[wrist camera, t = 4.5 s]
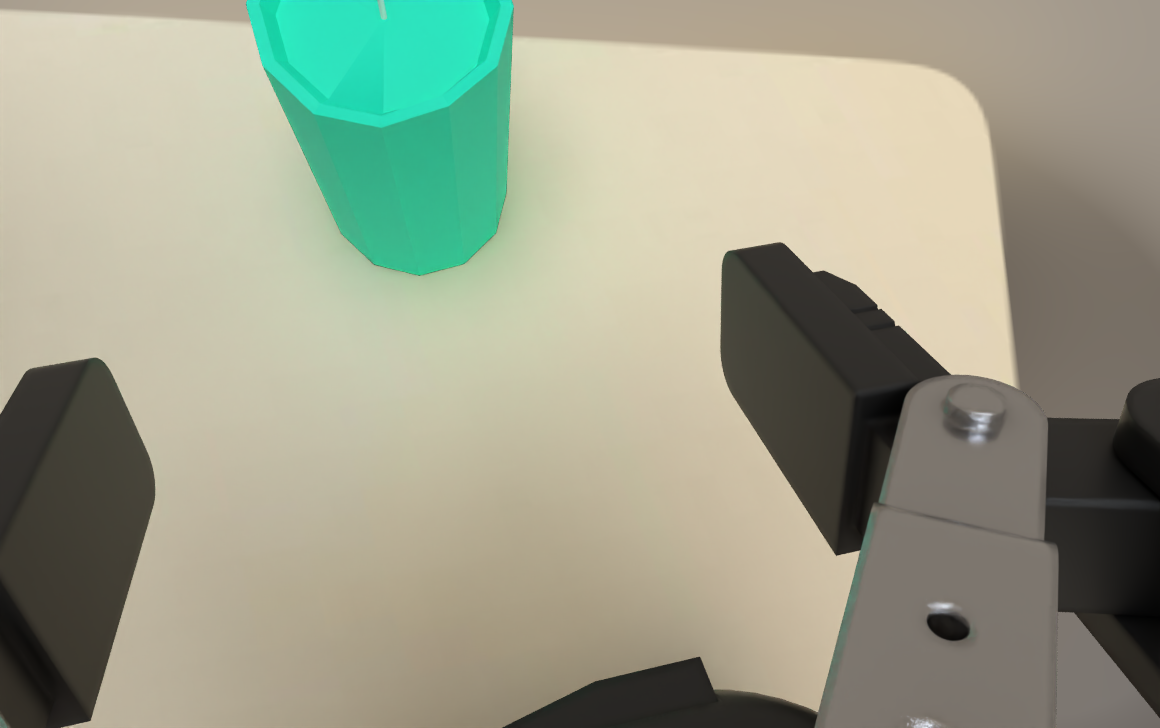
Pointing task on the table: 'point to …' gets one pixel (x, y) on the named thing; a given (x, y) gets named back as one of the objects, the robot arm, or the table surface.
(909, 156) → the table surface
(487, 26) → the candle
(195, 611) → the table surface
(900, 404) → the robot arm
